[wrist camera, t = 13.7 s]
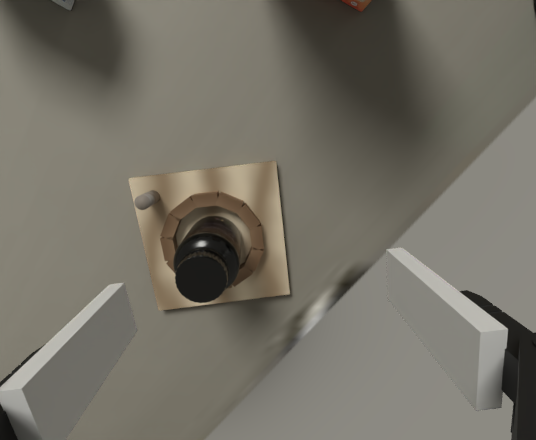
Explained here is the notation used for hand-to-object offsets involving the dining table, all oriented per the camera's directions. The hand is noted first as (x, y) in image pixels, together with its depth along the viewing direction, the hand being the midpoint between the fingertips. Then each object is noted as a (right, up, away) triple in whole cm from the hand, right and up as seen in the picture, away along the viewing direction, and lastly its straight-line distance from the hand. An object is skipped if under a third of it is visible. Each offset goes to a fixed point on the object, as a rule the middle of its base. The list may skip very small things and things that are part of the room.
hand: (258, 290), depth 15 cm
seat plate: (-7, +1, +25) cm, 26 cm away
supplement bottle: (-6, +1, +24) cm, 25 cm away
